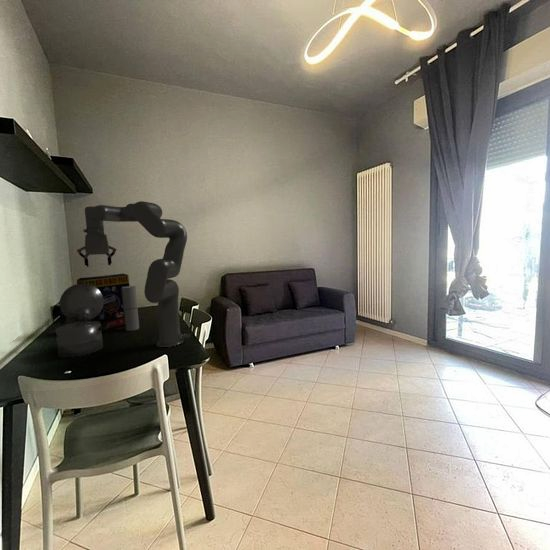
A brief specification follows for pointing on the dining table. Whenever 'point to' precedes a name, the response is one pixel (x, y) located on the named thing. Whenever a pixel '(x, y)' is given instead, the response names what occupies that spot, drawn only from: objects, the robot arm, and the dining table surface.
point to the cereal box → (109, 298)
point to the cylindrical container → (130, 308)
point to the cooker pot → (78, 338)
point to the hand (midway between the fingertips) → (98, 265)
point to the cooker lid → (81, 302)
